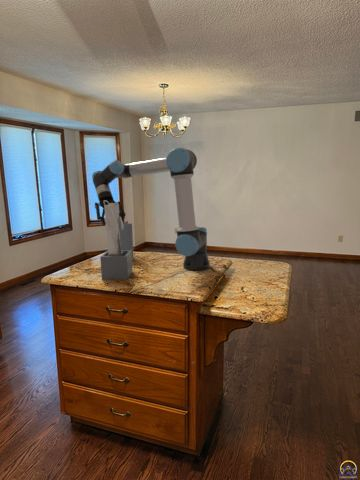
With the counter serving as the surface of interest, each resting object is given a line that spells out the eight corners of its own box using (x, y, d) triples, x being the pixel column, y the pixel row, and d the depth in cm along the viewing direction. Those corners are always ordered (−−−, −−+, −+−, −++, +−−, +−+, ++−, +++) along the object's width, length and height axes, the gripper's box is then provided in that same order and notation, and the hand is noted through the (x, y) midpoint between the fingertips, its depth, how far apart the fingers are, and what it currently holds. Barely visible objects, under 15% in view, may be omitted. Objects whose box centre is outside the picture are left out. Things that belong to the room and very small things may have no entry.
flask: (135, 257, 208) (133, 218, 203) (131, 258, 204) (129, 219, 199) (113, 254, 215) (111, 217, 211) (109, 256, 211) (106, 218, 207)
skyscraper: (104, 255, 164) (100, 201, 158) (108, 252, 172) (105, 199, 166) (121, 255, 163) (117, 200, 158) (124, 251, 171) (121, 199, 166)
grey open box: (132, 271, 176) (131, 250, 173) (128, 279, 163) (126, 256, 160) (108, 271, 176) (106, 250, 174) (101, 279, 163) (100, 256, 161)
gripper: (121, 198, 180) (132, 231, 169) (85, 200, 171) (94, 235, 160) (123, 189, 175) (135, 222, 164) (86, 190, 165) (96, 226, 154)
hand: (115, 228), depth 162 cm, fingers closed on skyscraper, 7 cm apart
